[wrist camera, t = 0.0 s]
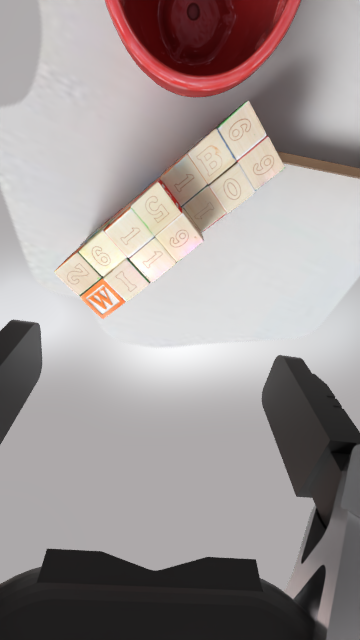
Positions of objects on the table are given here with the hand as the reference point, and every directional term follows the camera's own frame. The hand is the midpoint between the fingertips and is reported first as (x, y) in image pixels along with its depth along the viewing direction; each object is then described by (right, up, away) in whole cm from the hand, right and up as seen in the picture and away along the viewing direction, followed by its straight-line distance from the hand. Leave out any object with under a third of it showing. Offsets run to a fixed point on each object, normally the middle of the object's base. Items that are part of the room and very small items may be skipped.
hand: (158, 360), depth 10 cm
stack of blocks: (-1, +15, +25) cm, 30 cm away
